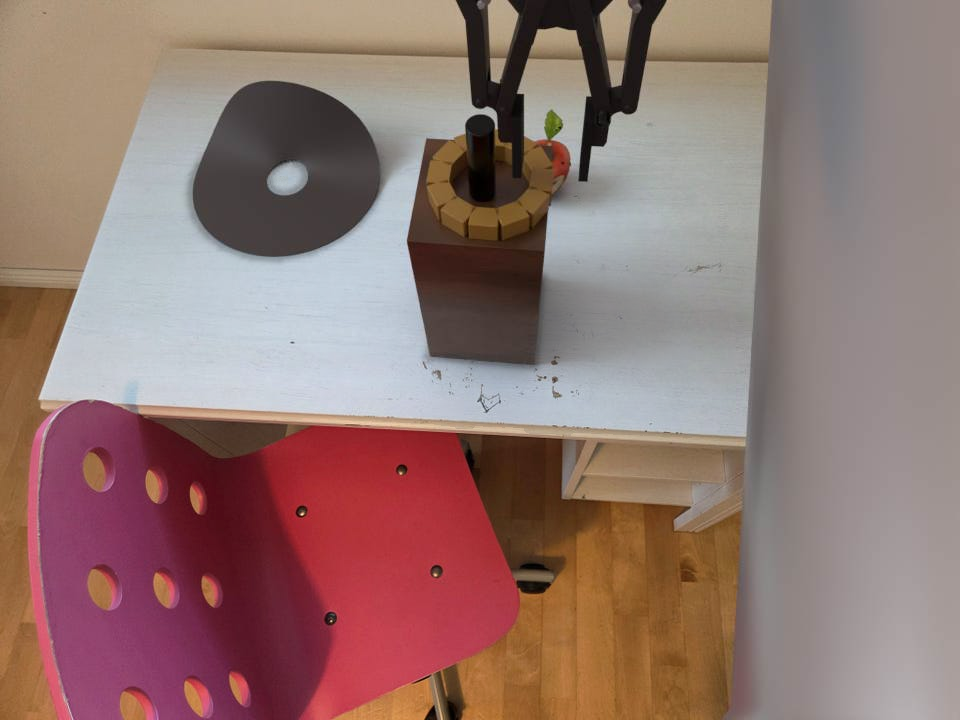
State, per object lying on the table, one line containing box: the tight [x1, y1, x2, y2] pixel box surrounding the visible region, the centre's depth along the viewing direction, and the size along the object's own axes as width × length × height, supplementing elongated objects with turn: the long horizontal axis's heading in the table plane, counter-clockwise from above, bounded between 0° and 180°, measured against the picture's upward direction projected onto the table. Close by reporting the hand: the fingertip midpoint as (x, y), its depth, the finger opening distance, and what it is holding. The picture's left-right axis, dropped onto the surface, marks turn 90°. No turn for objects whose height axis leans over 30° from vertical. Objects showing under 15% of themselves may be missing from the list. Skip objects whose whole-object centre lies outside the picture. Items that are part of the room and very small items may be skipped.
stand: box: [406, 137, 553, 366], centre depth 72 cm, size 12×12×22 cm
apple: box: [533, 109, 572, 196], centre depth 86 cm, size 8×7×10 cm
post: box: [464, 113, 496, 202], centre depth 59 cm, size 2×2×8 cm
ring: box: [426, 128, 554, 241], centre depth 61 cm, size 11×11×2 cm
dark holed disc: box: [192, 80, 381, 257], centre depth 87 cm, size 25×20×10 cm
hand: (550, 167), depth 58 cm, fingers open, 5 cm apart
